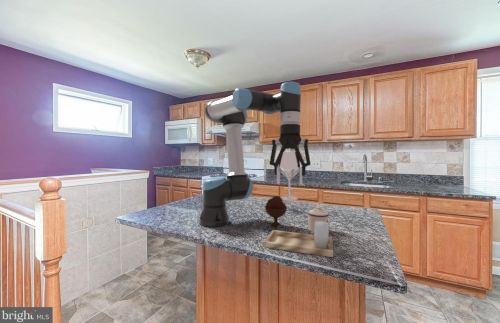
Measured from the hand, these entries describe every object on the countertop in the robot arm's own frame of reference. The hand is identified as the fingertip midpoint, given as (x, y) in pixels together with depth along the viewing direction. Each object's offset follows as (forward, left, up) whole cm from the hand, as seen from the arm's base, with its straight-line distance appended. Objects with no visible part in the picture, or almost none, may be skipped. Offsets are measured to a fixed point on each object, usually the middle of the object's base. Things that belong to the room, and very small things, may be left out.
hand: (289, 183), depth 86 cm
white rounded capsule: (+12, 0, -23) cm, 26 cm away
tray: (+4, 0, -24) cm, 25 cm away
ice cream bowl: (-10, +23, -24) cm, 35 cm away
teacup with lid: (+10, +22, -24) cm, 34 cm away
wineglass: (0, 0, -6) cm, 6 cm away
